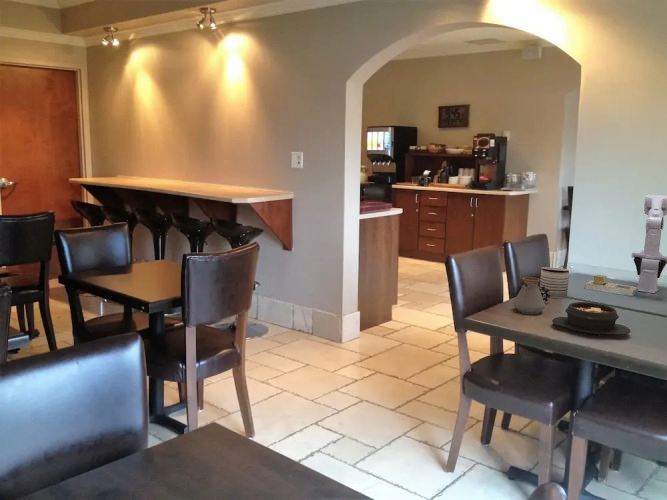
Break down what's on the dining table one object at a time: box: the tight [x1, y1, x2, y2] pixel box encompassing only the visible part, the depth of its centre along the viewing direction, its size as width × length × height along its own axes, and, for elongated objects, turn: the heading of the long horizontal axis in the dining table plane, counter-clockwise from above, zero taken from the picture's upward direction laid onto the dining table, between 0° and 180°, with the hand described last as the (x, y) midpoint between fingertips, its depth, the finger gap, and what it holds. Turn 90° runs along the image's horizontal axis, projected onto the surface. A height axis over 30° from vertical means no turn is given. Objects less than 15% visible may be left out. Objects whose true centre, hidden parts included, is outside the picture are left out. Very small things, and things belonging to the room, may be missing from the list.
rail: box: [584, 279, 639, 297], centre depth 270 cm, size 9×20×2 cm, turn 51°
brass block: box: [593, 274, 607, 285], centre depth 272 cm, size 4×4×6 cm
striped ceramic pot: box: [539, 266, 570, 299], centre depth 257 cm, size 11×11×12 cm
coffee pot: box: [513, 276, 546, 315], centre depth 225 cm, size 21×12×15 cm, turn 150°
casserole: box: [551, 301, 631, 336], centre depth 207 cm, size 25×19×8 cm
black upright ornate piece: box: [539, 286, 550, 303], centre depth 242 cm, size 7×7×12 cm
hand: (648, 276), depth 257 cm, fingers open, 7 cm apart
